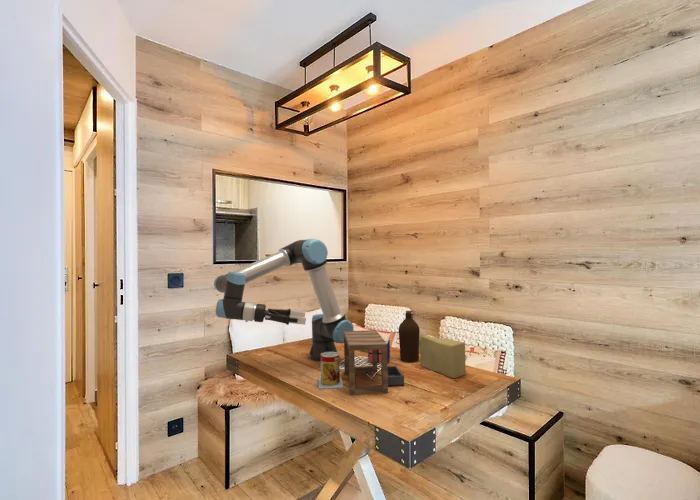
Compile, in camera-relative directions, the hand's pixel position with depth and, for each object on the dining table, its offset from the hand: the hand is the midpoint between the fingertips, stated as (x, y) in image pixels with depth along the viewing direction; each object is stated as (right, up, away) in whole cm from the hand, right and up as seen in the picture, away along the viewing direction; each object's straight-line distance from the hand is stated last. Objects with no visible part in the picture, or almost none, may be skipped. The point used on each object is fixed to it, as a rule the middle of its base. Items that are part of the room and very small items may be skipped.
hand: (305, 318), depth 159 cm
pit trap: (+37, -27, 0) cm, 46 cm away
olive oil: (+50, -27, +31) cm, 64 cm away
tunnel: (+25, -27, -1) cm, 37 cm away
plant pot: (+29, -28, +51) cm, 64 cm away
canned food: (+11, -27, -2) cm, 29 cm away
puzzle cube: (+34, -28, +31) cm, 53 cm away
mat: (+11, -27, -2) cm, 29 cm away
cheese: (+60, -27, +12) cm, 67 cm away
